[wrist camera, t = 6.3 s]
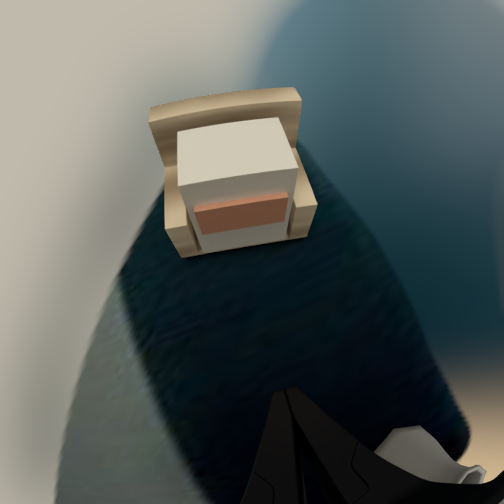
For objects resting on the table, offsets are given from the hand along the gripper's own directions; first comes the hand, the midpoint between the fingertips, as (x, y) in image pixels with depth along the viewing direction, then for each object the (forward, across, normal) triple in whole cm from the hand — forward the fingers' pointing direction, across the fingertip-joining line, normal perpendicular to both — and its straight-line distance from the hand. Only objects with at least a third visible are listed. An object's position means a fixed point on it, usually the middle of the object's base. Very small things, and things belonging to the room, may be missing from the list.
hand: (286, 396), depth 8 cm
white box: (+17, 0, -2) cm, 18 cm away
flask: (+2, -9, +18) cm, 20 cm away
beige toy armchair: (+19, 0, -2) cm, 19 cm away
